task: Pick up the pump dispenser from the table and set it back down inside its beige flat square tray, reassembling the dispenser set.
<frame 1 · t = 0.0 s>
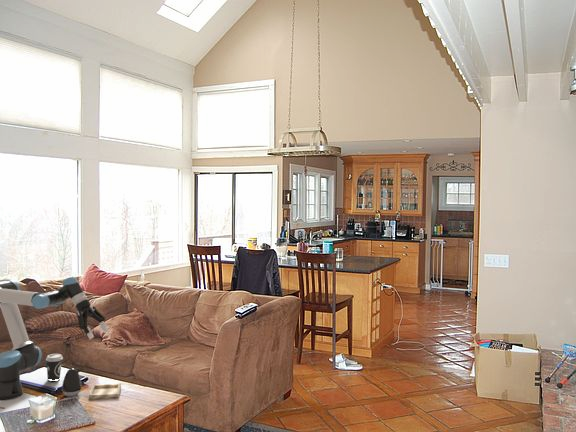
hand: (99, 335, 288), 36 cm above the table, tool tilted 35°, fingers open, 13 cm apart
coffee cup: (53, 380, 313), on the table
beige flat square tray: (105, 393, 297), on the table
pump dispenser: (71, 395, 292), on the table
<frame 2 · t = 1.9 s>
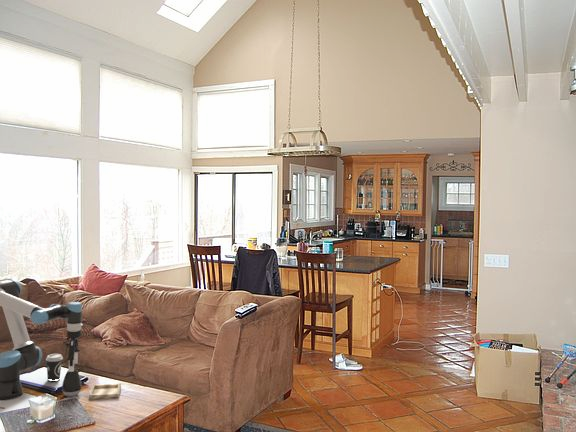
hand: (73, 367, 292), 16 cm above the table, tool pointing down, fingers open, 13 cm apart
nothing on the table moved.
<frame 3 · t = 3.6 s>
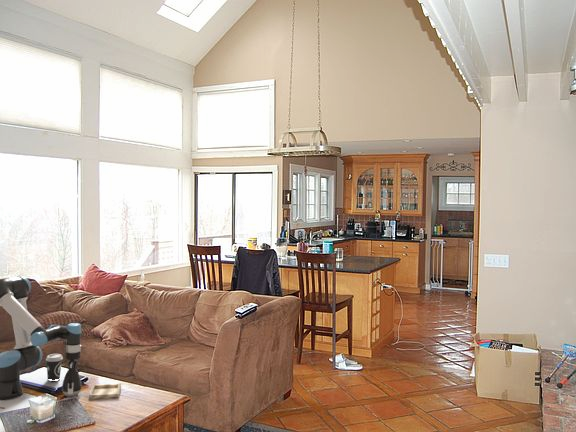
hand: (71, 390, 292), 3 cm above the table, tool pointing down, fingers closed on pump dispenser, 10 cm apart
pump dispenser: (71, 395, 292), on the table, touching gripper
everything else where it was.
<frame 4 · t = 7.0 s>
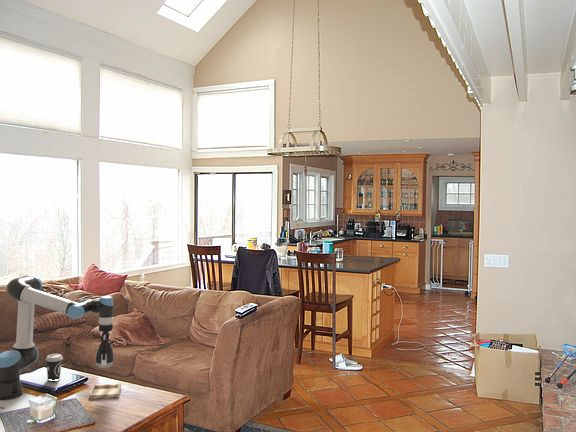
hand: (104, 362, 296), 18 cm above the table, tool pointing down, fingers closed on pump dispenser, 10 cm apart
pump dispenser: (104, 367, 296), point 15 cm above the table, touching gripper
everything else where it was.
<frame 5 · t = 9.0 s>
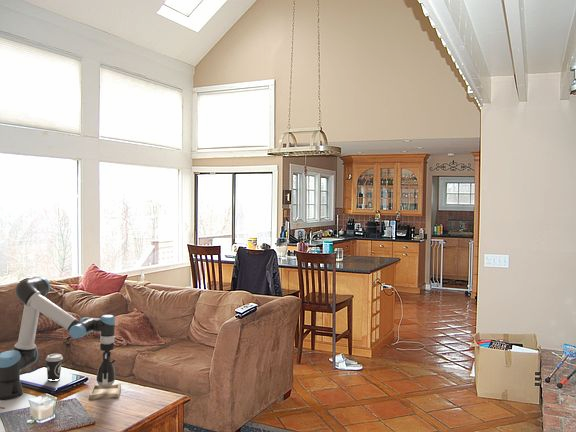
hand: (105, 380, 297), 7 cm above the table, tool pointing down, fingers closed on pump dispenser, 10 cm apart
pump dispenser: (105, 385, 297), point 4 cm above the table, touching gripper
everything else where it was.
when the fingers open (6 cm above the table, at t = 10.4 s): pump dispenser drops 2 cm, resting on beige flat square tray.
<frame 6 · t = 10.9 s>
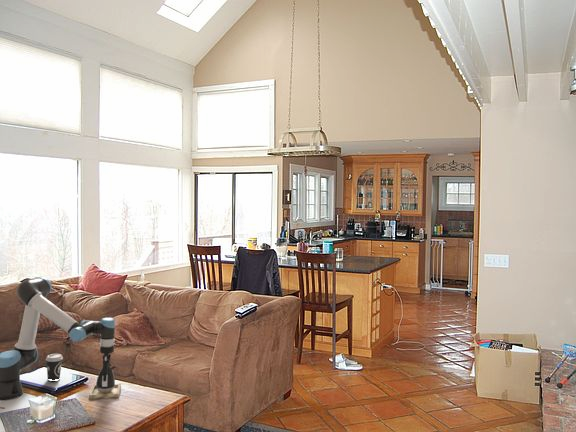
hand: (105, 382, 297), 7 cm above the table, tool pointing down, fingers open, 13 cm apart
pump dispenser: (105, 392, 297), point 1 cm above the table, touching beige flat square tray
everything else where it was.
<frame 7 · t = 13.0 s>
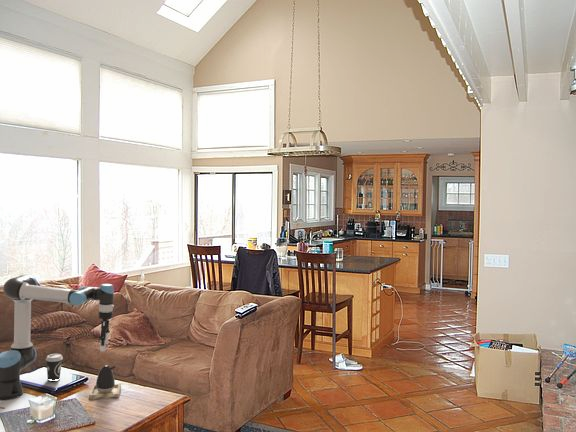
hand: (104, 347, 299), 26 cm above the table, tool pointing down, fingers open, 13 cm apart
nothing on the table moved.
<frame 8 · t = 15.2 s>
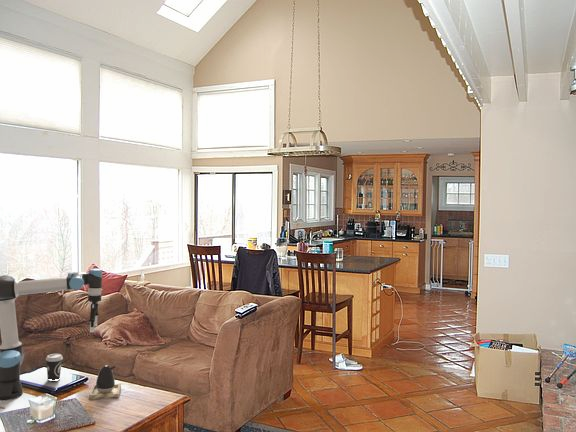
hand: (93, 329, 315), 32 cm above the table, tool pointing down, fingers open, 13 cm apart
nothing on the table moved.
at the end: pump dispenser 0.1 cm off-centre on the beige flat square tray, point 0.8 cm above the beige flat square tray's base; pump dispenser tilted 0°; the gripper is holding nothing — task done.
